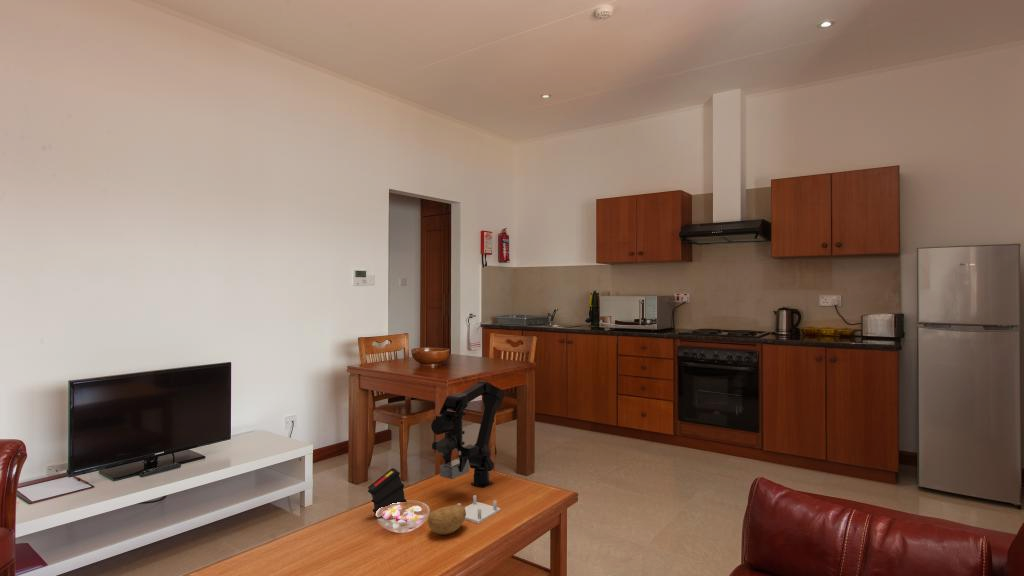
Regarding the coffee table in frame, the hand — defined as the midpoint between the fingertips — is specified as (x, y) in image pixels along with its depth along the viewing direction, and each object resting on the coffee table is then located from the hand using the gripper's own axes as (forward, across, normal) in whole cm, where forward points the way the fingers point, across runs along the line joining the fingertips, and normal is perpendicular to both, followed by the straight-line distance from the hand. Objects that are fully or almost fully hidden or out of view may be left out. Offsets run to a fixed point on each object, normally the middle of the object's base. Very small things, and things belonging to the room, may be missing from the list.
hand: (454, 470), depth 200 cm
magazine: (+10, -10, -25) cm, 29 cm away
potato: (+10, +17, -24) cm, 31 cm away
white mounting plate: (+10, +16, -7) cm, 20 cm away
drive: (+1, 0, 0) cm, 1 cm away
